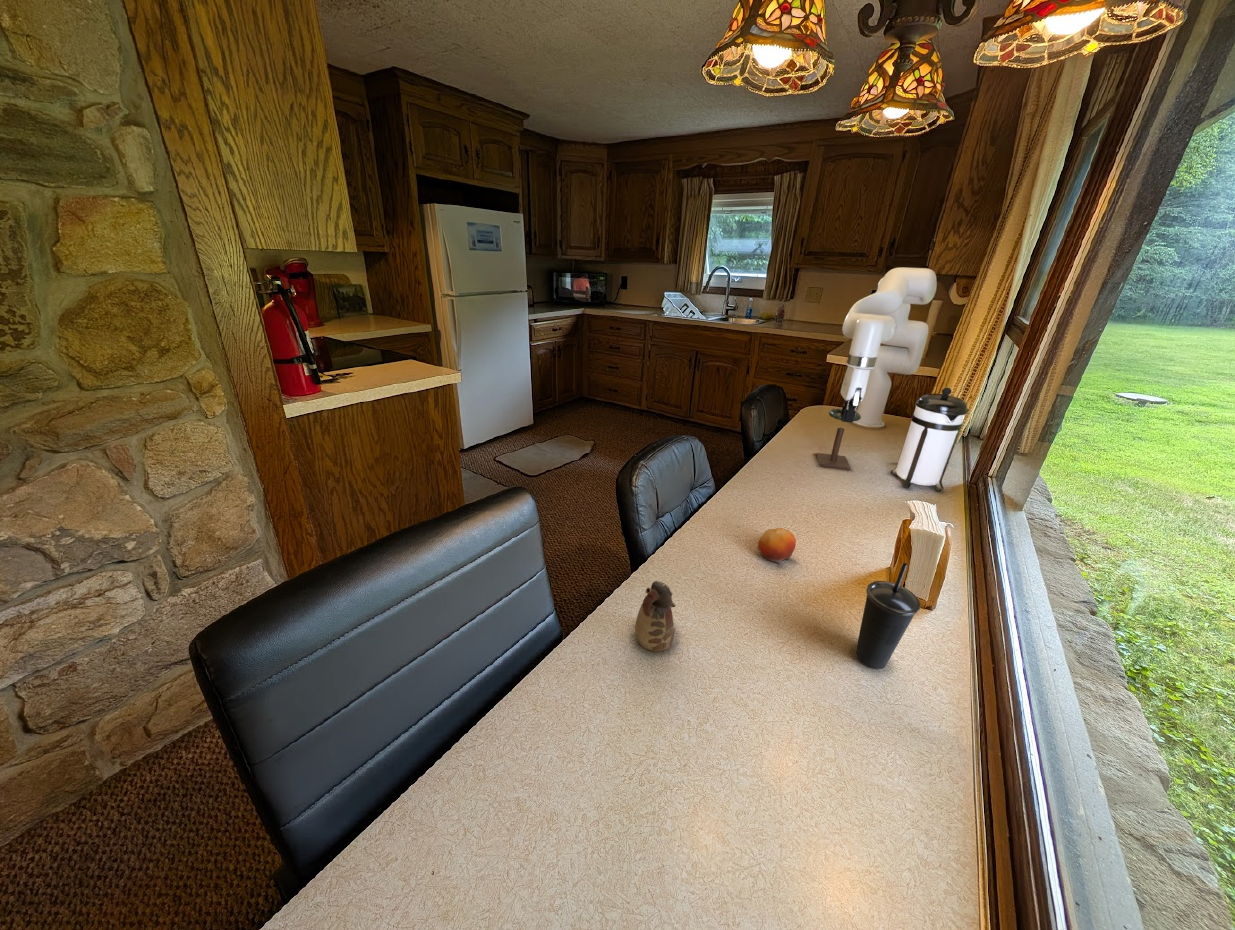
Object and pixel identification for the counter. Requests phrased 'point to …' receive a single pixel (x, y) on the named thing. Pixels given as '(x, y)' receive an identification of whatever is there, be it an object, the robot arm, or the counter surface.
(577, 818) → the counter surface
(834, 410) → the ring
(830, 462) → the brown peg stand
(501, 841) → the counter surface
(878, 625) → the drinking cup
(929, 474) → the coffee press
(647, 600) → the figurine
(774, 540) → the fruit
